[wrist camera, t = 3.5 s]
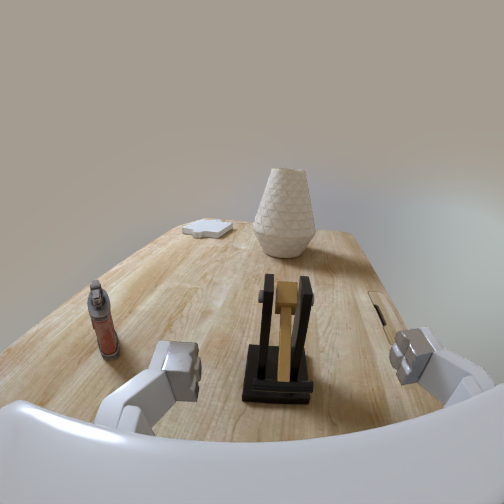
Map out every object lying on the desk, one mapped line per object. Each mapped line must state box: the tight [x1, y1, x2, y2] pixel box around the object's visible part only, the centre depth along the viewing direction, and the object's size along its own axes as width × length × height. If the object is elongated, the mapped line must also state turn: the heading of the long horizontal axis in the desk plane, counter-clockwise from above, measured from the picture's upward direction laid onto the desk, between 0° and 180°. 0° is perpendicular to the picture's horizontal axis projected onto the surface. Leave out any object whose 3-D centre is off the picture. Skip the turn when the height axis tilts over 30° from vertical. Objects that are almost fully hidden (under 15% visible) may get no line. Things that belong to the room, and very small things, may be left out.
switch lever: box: [253, 281, 313, 393], centre depth 28 cm, size 12×6×2 cm, turn 176°
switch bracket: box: [242, 274, 314, 404], centre depth 32 cm, size 10×8×14 cm
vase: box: [253, 168, 316, 258], centre depth 77 cm, size 17×17×23 cm
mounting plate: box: [182, 219, 233, 238], centre depth 96 cm, size 18×13×2 cm
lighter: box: [87, 280, 119, 360], centre depth 36 cm, size 8×3×10 cm, turn 30°
